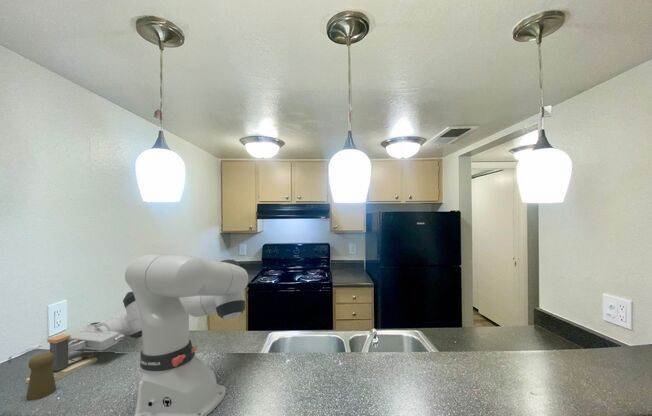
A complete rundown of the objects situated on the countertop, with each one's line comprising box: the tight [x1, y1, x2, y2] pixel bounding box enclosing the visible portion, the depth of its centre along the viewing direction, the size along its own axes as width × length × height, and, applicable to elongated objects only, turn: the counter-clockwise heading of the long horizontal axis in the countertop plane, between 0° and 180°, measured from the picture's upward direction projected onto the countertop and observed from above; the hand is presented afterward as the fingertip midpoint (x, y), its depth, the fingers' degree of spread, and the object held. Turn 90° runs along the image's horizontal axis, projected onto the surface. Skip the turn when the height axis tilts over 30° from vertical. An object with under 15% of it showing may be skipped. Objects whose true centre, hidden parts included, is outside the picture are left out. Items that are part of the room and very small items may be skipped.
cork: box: [25, 352, 57, 402], centre depth 79 cm, size 6×6×11 cm
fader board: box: [25, 352, 98, 385], centre depth 90 cm, size 8×15×2 cm, turn 164°
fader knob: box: [47, 333, 71, 371], centre depth 89 cm, size 4×4×10 cm
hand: (64, 349), depth 91 cm, fingers closed, pressing on fader knob
